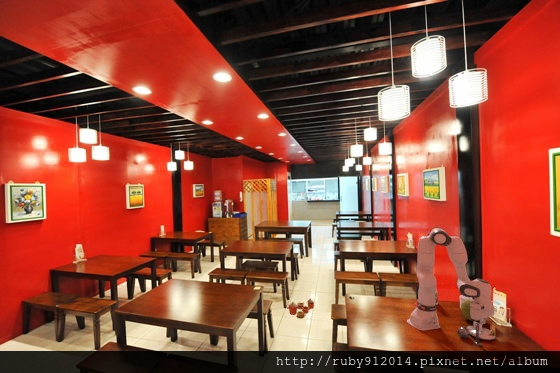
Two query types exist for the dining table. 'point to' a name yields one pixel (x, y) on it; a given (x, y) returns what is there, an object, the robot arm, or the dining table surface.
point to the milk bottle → (436, 297)
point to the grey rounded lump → (463, 332)
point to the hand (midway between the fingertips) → (482, 323)
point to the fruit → (466, 310)
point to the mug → (464, 299)
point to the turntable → (483, 332)
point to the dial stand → (477, 333)
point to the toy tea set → (305, 309)
